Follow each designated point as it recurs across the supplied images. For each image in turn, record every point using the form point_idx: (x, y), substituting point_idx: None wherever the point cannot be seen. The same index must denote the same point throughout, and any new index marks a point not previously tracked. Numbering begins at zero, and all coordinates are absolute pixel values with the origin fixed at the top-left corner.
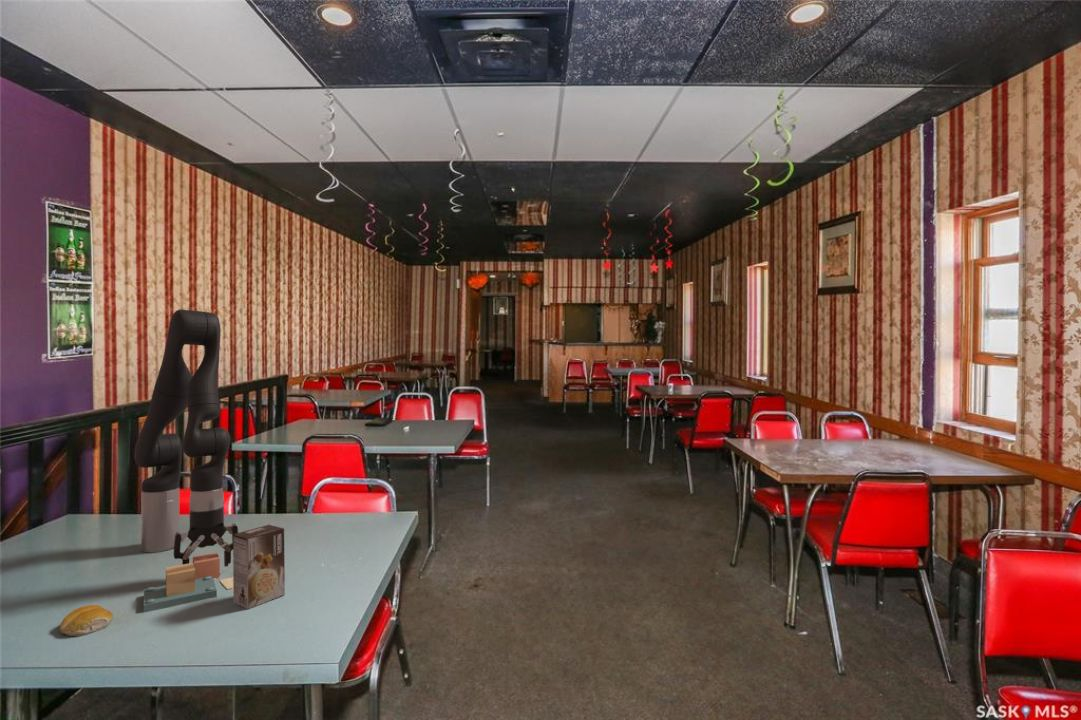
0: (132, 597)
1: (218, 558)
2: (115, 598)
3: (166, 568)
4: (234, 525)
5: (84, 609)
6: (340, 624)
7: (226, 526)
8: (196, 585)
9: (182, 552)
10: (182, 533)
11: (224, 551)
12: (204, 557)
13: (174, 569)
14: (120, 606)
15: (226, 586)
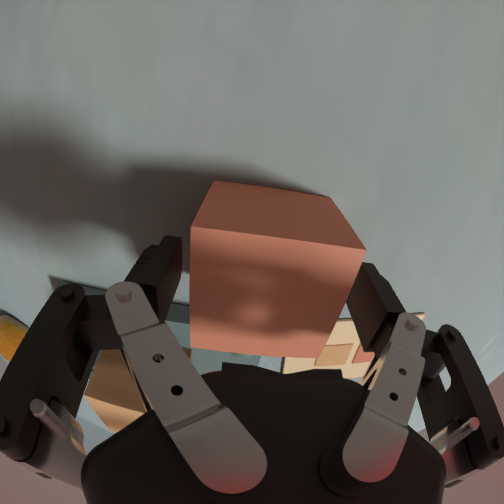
0: (40, 268)
1: (316, 354)
2: (9, 244)
3: (88, 400)
4: (457, 483)
5: (8, 360)
6: None
7: (446, 482)
8: (200, 367)
9: (101, 319)
10: (49, 475)
11: (377, 329)
12: (260, 298)
13: (119, 420)
14: (37, 305)
15: (286, 371)
